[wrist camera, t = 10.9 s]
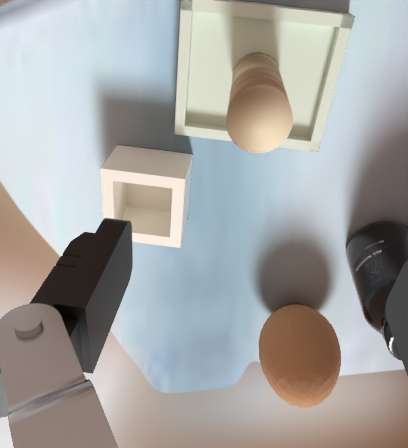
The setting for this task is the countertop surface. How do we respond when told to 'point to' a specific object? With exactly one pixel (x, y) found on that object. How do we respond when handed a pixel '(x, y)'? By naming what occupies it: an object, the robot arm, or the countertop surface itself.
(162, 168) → the holder cup
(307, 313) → the egg
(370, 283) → the supplement bottle
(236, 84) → the dowel
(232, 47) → the tray
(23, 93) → the countertop surface
